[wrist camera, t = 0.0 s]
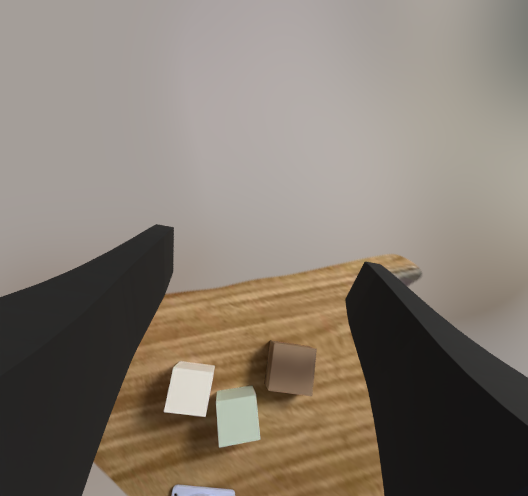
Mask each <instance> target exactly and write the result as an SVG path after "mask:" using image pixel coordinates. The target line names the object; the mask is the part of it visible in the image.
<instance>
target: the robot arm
mask: <svg viewBox="0 0 528 496" xmlns="http://www.w3.org/2000/svg"><path fill="white" fill-rule="evenodd" d="M173 243H174V228H173V227H169V226H163V225H157V224H156V225H154V226H152V227H151V228H149V229H147V230H145V231H144V232H142V233H140V234H139V235H137V236H135V237H133V238H132V239H130V240H128V241H127V242H125V243H123V244H122V245H119V246H118V247H116V248H114V249H113V250H111V251H109V252H107V253H105V254H103V255H101V256H99V257H97V258H95V259H93V260H91V261H89V262H87V263H85V264H83V265H81V266H79V267H77V268H75V269H73V270H70V271H68V272H66V273H64V274H61V275H59V276H57V277H54V278H52V279H49V280H47V281H44V282H42V283H39V284H37V285H34V286H31V287H29V288H26V289H23V290H20V291H17V292H14V293H11V294H8V295H6V296H3V297H0V496H82V494H83V491H84V488H85V485H86V482H87V479H88V476H89V473H90V470H91V467H92V464H93V461H94V458H95V456H96V453H97V450H98V447H99V444H100V442H101V439H102V436H103V433H104V431H105V428H106V425H107V422H108V420H109V417H110V414H111V412H112V409H113V406H114V404H115V401H116V399H117V396H118V393H119V391H120V388H121V386H122V383H123V381H124V378H125V376H126V373H127V370H128V368H129V365H130V363H131V361H132V358H133V356H134V354H135V352H136V350H137V348H138V346H139V344H140V342H141V340H142V338H143V336H144V334H145V332H146V330H147V328H148V327H149V325H150V323H151V321H152V319H153V317H154V315H155V313H156V311H157V309H158V307H159V305H160V303H161V301H162V299H163V297H164V295H165V293H166V290H167V287H168V285H169V282H170V279H171V276H172V273H173V247H174V245H173ZM345 301H346V309H347V316H348V322H349V326H350V330H351V333H352V337H353V340H354V343H355V347H356V350H357V353H358V357H359V360H360V363H361V367H362V370H363V373H364V377H365V380H366V384H367V388H368V392H369V397H370V402H371V408H372V413H373V418H374V424H375V430H376V436H377V442H378V449H379V456H380V463H381V471H382V479H383V486H384V496H528V378H527V377H526V376H524V375H523V374H521V373H520V372H518V371H517V370H515V369H513V368H512V367H510V366H509V365H507V364H506V363H504V362H503V361H501V360H500V359H498V358H497V357H495V356H494V355H492V354H491V353H489V352H488V351H486V350H485V349H484V348H482V347H481V346H480V345H478V344H477V343H475V342H474V341H473V340H471V339H470V338H468V337H467V336H466V335H464V334H463V333H462V332H460V331H459V330H458V329H457V328H455V327H454V326H453V325H452V324H450V323H449V322H448V321H447V320H445V319H444V318H443V317H442V316H440V315H439V314H438V313H437V312H435V311H434V310H433V309H432V308H431V307H429V305H427V304H426V303H425V302H424V301H423V300H421V299H420V298H419V297H418V296H417V295H416V294H415V293H414V292H413V291H411V290H410V289H409V288H408V287H407V286H406V285H405V284H404V283H402V282H401V281H400V280H399V279H398V278H397V277H396V276H394V275H393V274H392V273H391V272H390V271H388V270H387V269H386V268H385V267H383V266H382V265H380V264H376V263H371V262H364V264H363V266H362V268H361V270H360V272H359V274H358V276H357V278H356V280H355V282H354V284H353V285H352V287H351V289H350V291H349V293H348V295H347V297H346V299H345ZM175 493H177V496H235V492H234V490H232V489H220V488H209V487H198V486H187V485H175V486H174V487H173V490H172V495H171V496H174V494H175Z"/></svg>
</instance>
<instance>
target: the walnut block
mask: <svg viewBox="0 0 528 496" xmlns="http://www.w3.org/2000/svg"><path fill="white" fill-rule="evenodd" d="M315 360H316V349H315V348H312V347H309V346H304V345H298V344H291V343H284V342H277V341H271V340H270V346H269V353H268V361H267V368H266V375H265V383H264V384H265V385H266V387H267V389H268V391H276V392H283V393H291V394H298V395H306V396H312V393H313V382H314V371H315Z"/></svg>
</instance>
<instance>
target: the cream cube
mask: <svg viewBox="0 0 528 496" xmlns="http://www.w3.org/2000/svg"><path fill="white" fill-rule="evenodd" d="M214 369H215V366H214V365H206V364H199V363H191V362H183V361H180V362H179V363H178V364H176V365H175V366H174V367H173V372H172V376H171V381H170V386H169V390H168V395H167V400H166V404H165V409H164V412H168V413H177V414H185V415H194V416H203V417H206V412H207V407H208V402H209V396H210V391H211V385H212V380H213V374H214Z"/></svg>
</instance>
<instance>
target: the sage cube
mask: <svg viewBox="0 0 528 496" xmlns="http://www.w3.org/2000/svg"><path fill="white" fill-rule="evenodd" d="M216 409H217V424H218V439H219V448H220V447H225V446H230V445H235V444H240V443H245V442H250V441H255V440H260V431H259V421H258V411H257V401H256V394H255V391H254V389H253V386H252V385H251V386H245V387H239V388H233V389H226V390H220V391H217V398H216Z"/></svg>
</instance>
